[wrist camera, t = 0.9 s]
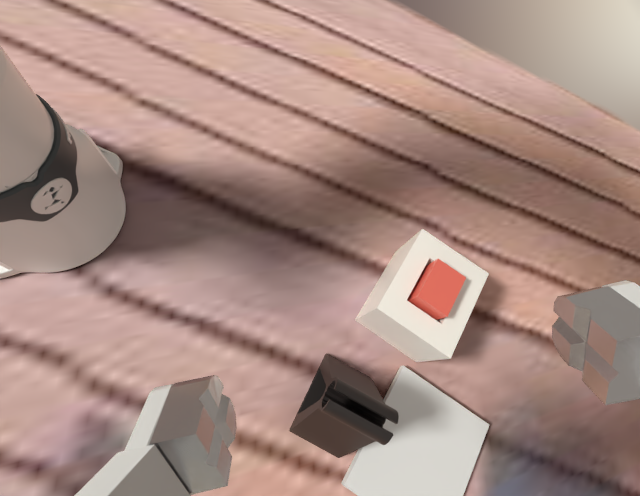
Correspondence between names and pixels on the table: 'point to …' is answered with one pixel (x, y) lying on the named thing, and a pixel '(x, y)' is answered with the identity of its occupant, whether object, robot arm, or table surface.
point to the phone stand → (342, 410)
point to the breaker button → (437, 289)
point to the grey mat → (419, 445)
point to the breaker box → (405, 318)
